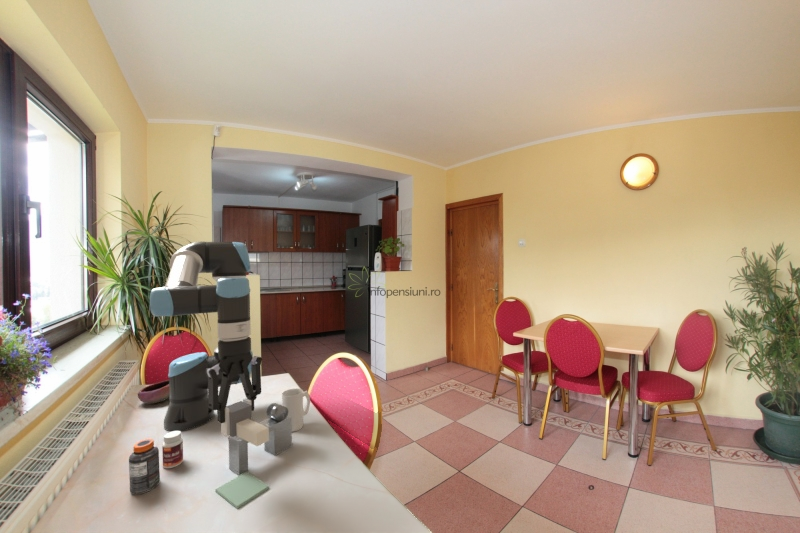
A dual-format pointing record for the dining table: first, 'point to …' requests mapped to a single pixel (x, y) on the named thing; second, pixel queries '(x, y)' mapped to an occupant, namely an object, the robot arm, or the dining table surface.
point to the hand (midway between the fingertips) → (236, 429)
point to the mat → (241, 489)
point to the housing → (277, 442)
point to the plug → (246, 424)
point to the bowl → (154, 392)
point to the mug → (295, 406)
